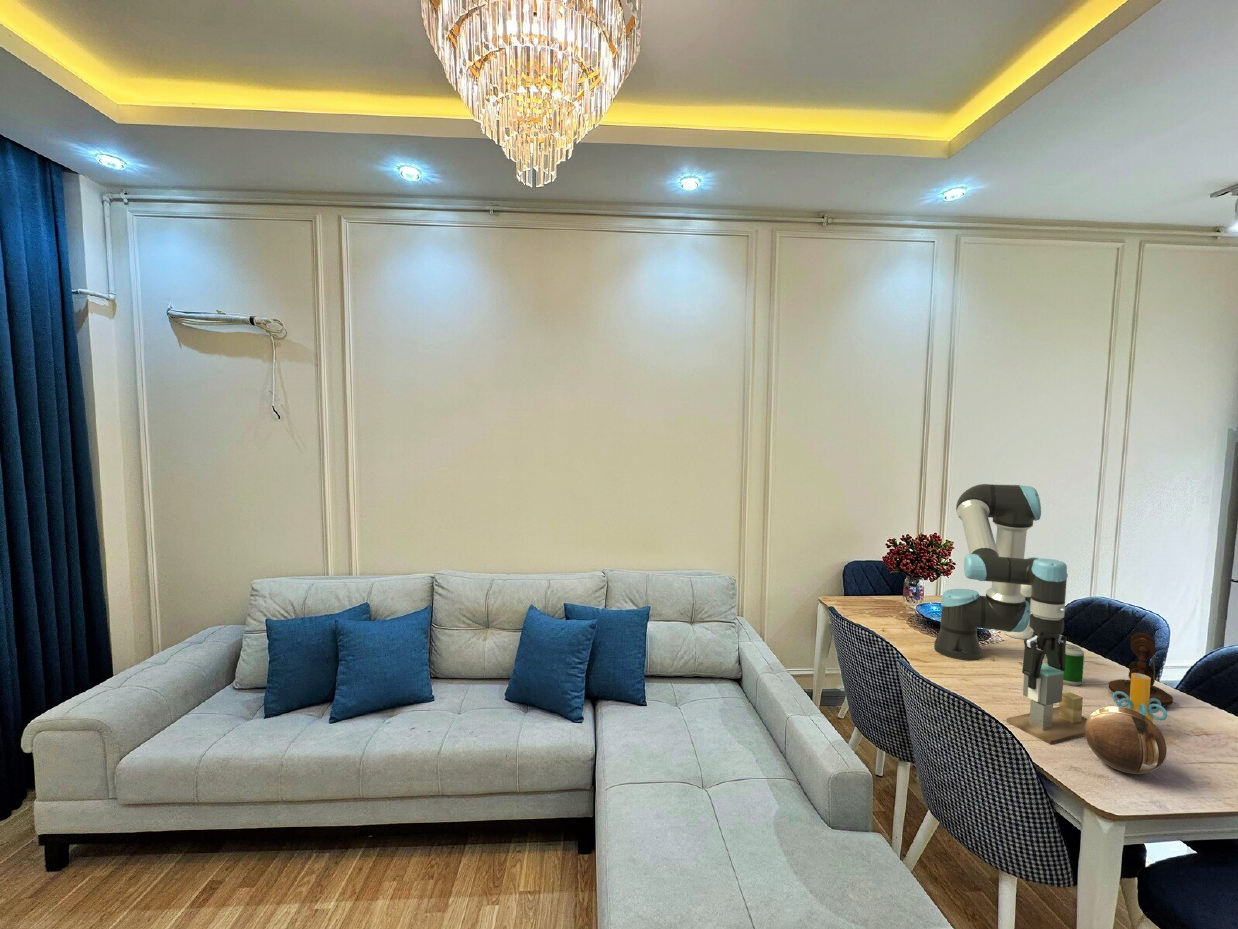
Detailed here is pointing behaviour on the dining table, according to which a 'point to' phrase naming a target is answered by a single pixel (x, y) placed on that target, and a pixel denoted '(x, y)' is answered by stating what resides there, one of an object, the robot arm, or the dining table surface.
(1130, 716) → the bronze metallic ball
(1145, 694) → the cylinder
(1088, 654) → the dining table surface
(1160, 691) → the turned wooden candlestick
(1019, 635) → the vodka
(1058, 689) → the grey teal-topped block
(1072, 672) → the soda can
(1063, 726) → the walnut board
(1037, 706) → the steel post
